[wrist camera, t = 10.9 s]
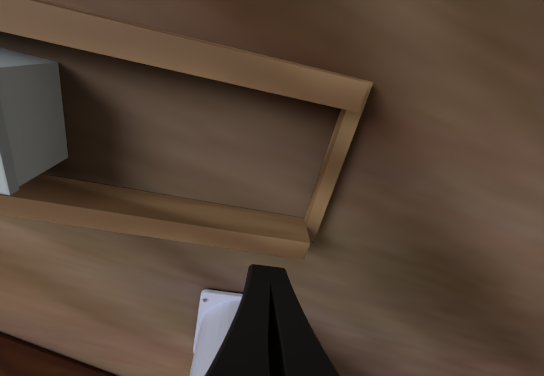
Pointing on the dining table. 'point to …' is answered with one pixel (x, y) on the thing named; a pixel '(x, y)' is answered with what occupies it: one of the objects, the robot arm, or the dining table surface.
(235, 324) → the robot arm
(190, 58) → the bay
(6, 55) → the box
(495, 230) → the dining table surface
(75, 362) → the diary
